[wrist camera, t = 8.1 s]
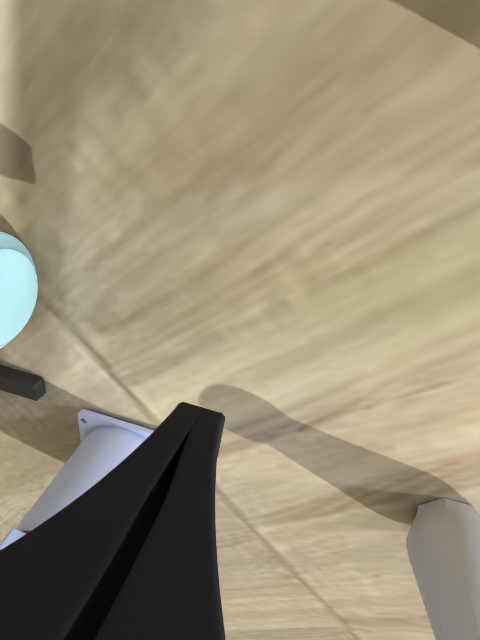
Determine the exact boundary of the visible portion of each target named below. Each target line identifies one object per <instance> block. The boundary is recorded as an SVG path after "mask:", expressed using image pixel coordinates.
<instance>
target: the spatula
mask: <svg viewBox="0 0 480 640" xmlns="http://www.w3.org/2000/svg"><path fill="white" fill-rule="evenodd" d="M0 390H3V391H6V392H9V393H13V394H16V395H19V396H22V397H26V398H29V399H32V400H35V401H38V400H39V399H40V398H41V397H42V396H43V395H44V394H45V393H46V392H45V386H44V381H43V378H41V377H38V376H35V375H31V374H28V373H25V372H21V371H18V370H15V369H11V368H8V367H5V366H1V365H0Z"/></svg>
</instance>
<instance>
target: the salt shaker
mask: <svg viewBox="0 0 480 640" xmlns="http://www.w3.org/2000/svg"><path fill="white" fill-rule="evenodd" d="M407 551H408V556H409V560H410V563H411V566H412V569H413V572H414V575H415V578H416V581H417V584H418V587H419V590H420V593H421V596H422V599H423V602H424V605H425V608H426V611H427V614H428V617H429V620H430V623H431V626H432V629H433V632H434V635H435V638H436V640H480V514H479V513H478V512H477V511H476V510H475V509H474V507H473V506H472V505H468V504H464V503H461V502H457V501H453V500H449V499H446V498H442V499H438V500H435V501H431V502H428V503H424V504H421V505H418V510H417V514H416V516H415V519H414V521H413V524H412V526H411V528H410V531H409V533H408V536H407Z"/></svg>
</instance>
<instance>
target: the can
mask: <svg viewBox="0 0 480 640" xmlns="http://www.w3.org/2000/svg"><path fill="white" fill-rule="evenodd" d="M37 292H38V283H37V275H36V269H35V266H34V262H33V259H32V257H31V255H30V253H29V251H28V250H27V248H26V247H25V246H24V245H23V244H22V243H21V242H20V241H19V240H18V239H17V238H15V237H13V236H12V235H9V234H7V233H4V232H0V349H1V348H2V347H3V346H5V345H6V344H7V343H9V342H10V341H11V340H12V339H13V338H14V337H15V336H16V335H17V334H18V333H19V332H20V331H21V330H22V329H23V327H24V326H25V325H26V323H27V322H28V320H29V318H30V316H31V314H32V312H33V309H34V307H35V303H36V299H37Z"/></svg>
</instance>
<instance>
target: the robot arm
mask: <svg viewBox="0 0 480 640" xmlns="http://www.w3.org/2000/svg"><path fill="white" fill-rule="evenodd" d="M77 417H78V425H79V433H80V442H81V444H80V445H79V446H78V448H77V449H76V450H75V451H74V453H73V454H72V455H71V457H70V458H69V459H68V461H67V462H66V463H65V465H64V466H63V467H62V469H61V470H60V471H59V473H58V474H57V475H56V477H55V478H54V479H53V480H52V482H51V483H50V484H49V486H48V487H47V488H46V490H45V491H44V492H43V494H42V495H41V496H40V498H39V499H38V500H37V502H36V503H35V504H34V506H33V507H32V508H31V509H30V511H29V512H28V513H27V515H26V516H25V517H24V519H23V520H22V521H21V523H20V524H19V525H18V527H17V528H12V529H11V531H10V532H9V533H8V534H7V536H6V537H5V538H4V540H3V541H2V542H1V544H0V640H225V632H224V623H223V615H222V606H221V598H220V588H219V577H218V565H217V549H216V529H215V482H216V463H217V457H218V453H219V447H220V442H221V437H222V432H223V427H224V422H225V416H224V415H223V414H222V413H219V412H216V411H212V410H209V409H205V408H202V407H199V406H195V405H192V404H188V403H185V402H182V403H179V404H178V406H177V407H176V408H175V409H174V410H173V411H172V413H171V414H170V415H169V416H168V417H167V418H166V419H165V420H164V421H163V422H162V423H161V425H160V426H159V427H158V428H157V429H156V430H155V431H154V430H151V429H148V428H145V427H141V426H138V425H135V424H132V423H128V422H125V421H122V420H119V419H115V418H112V417H109V416H106V415H102V414H99V413H96V412H93V411H89V410H86V409H81V410H80V411H79V412H78V413H77Z"/></svg>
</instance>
